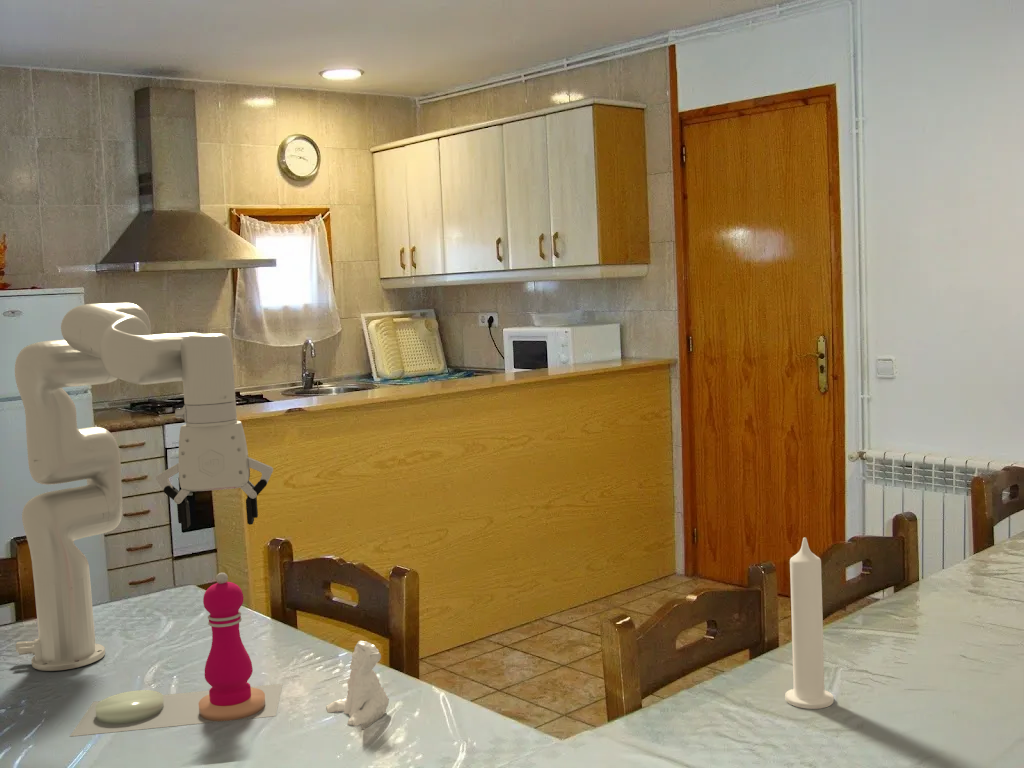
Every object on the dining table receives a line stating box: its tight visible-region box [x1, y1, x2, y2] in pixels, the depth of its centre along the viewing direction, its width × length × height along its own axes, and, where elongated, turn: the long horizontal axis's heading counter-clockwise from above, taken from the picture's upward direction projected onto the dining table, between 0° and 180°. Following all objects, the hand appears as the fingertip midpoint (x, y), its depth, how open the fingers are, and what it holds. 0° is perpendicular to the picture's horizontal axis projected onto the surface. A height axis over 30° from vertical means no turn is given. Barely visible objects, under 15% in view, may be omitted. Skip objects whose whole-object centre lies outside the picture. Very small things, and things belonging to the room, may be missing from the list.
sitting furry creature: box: [325, 640, 390, 731], centre depth 161 cm, size 10×9×12 cm
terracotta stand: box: [199, 686, 265, 722], centre depth 165 cm, size 10×10×2 cm
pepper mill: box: [202, 572, 254, 706], centre depth 164 cm, size 7×7×20 cm
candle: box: [784, 536, 835, 710], centre depth 159 cm, size 7×7×25 cm
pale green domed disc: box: [95, 689, 164, 724], centre depth 166 cm, size 10×10×2 cm
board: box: [69, 683, 284, 738], centre depth 166 cm, size 30×14×1 cm, turn 98°
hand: (218, 525), depth 163 cm, fingers open, 9 cm apart
